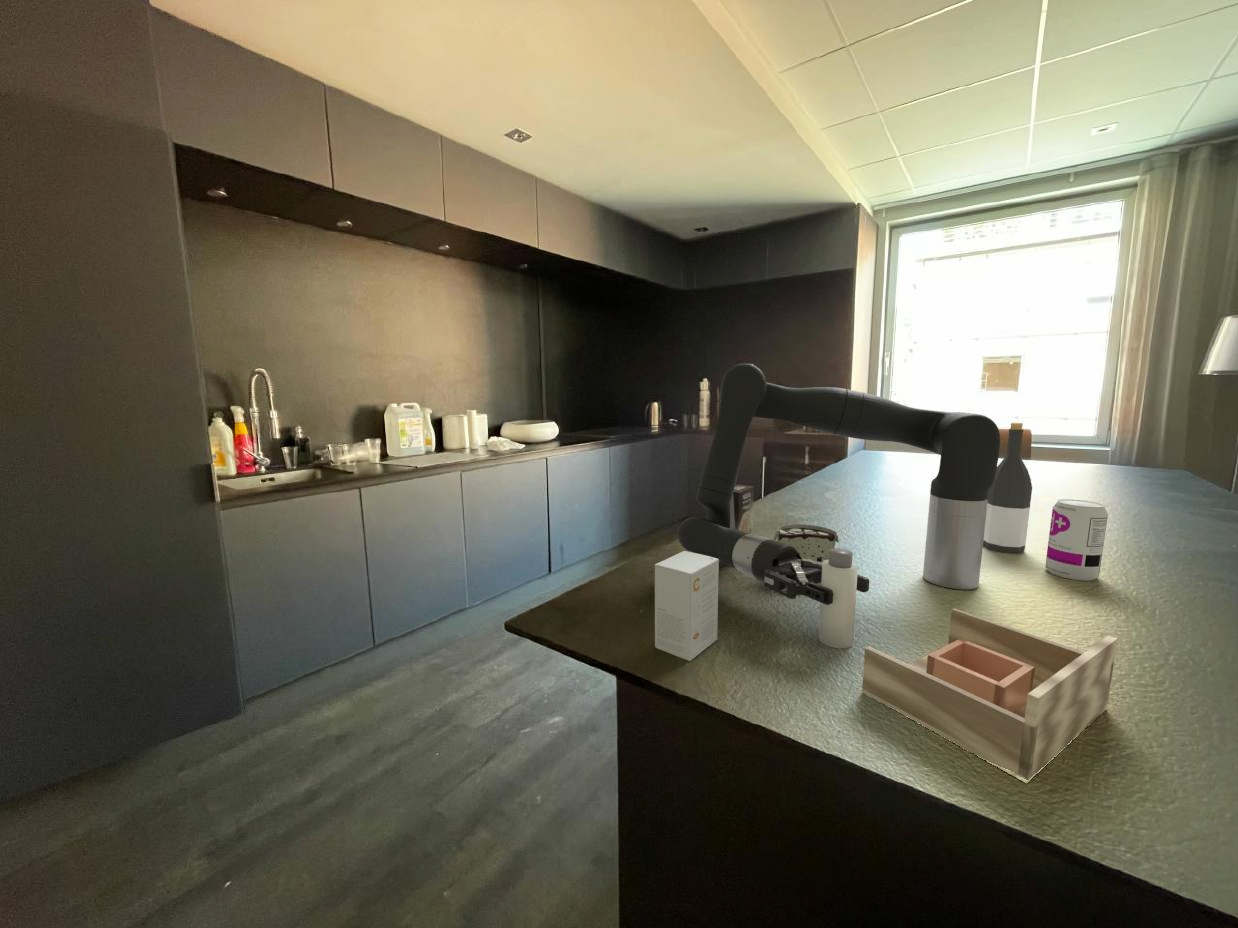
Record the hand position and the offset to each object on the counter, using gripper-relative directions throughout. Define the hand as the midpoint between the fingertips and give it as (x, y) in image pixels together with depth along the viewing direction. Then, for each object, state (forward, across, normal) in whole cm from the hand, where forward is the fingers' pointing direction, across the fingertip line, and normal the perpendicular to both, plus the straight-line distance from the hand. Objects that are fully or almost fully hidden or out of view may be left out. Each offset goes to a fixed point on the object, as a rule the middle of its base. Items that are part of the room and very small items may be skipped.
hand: (850, 591), depth 72 cm
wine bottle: (-9, +73, +9) cm, 74 cm away
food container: (-23, +18, +9) cm, 30 cm away
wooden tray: (+16, +2, +8) cm, 18 cm away
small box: (-13, -20, +9) cm, 25 cm away
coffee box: (-39, +14, +9) cm, 42 cm away
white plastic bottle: (-2, 0, +8) cm, 9 cm away
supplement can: (+6, +65, +9) cm, 66 cm away
